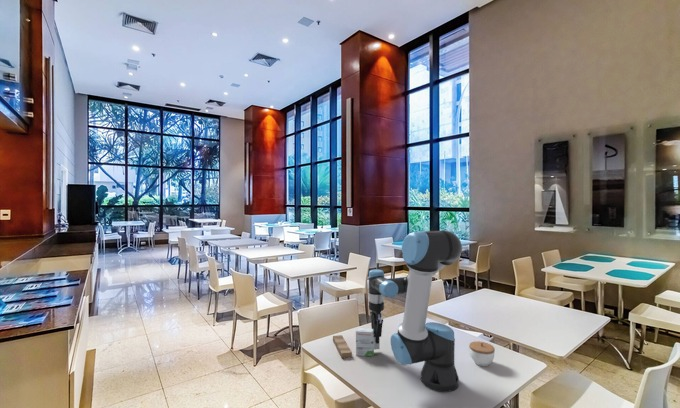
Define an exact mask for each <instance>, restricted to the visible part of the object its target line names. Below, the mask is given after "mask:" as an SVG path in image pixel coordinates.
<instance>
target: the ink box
mask: <svg viewBox="0 0 680 408" xmlns="http://www.w3.org/2000/svg"><path fill="white" fill-rule="evenodd" d="M355 353H356V354H355V355H356V356H360V357H361V356H362V357H374V355H375V350H374V331H373V329H372V328H363V327H356V330H355Z"/></svg>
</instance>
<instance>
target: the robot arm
mask: <svg viewBox="0 0 680 408" xmlns="http://www.w3.org/2000/svg"><path fill="white" fill-rule="evenodd" d="M462 251H463V245H462V242H461V240H460V238H459V236H457V235H456V234H455V233H453V232H451V231H449V230H427V231H425V230H424V231H422V230H420V231H419V230H418V231H412V232H410V233H408V234H407V235H406V236H405V237H404V239H403V240H402V245H401V253H402V255H401V256H402V259H403V261H404V262H405V265H406V267H407V268H408V269H409V272H408V274H407V275H406V276H402V277H392V278H391V277H390V278H387V277H385V273H384V270H382V269H371V270H369V271H368V278H367V279H368V309H369V315H370V323H371V324H370V325H371V328H370V329H373V331H374V351H375V350H380V349H381V348H380V345H381V344H380V338H381V337H382V334H383V333H382V332H383V324H384V319H382V311H384V310H385V298H388V299H392V298H394V297H396V296H397V295H402V294H406V296H405V305H404V310H403V311H404V312H403V316H402V317H403V318H402V322H401V323H400V324H399V325H398V327H397V333H396V332H395V333H393V334H391V336H390V346H391V350H392V354H393V356H394V358H395V359H396V361H397V362H398V363H399V364H400V365H402V366H406V365H413V364H418V363H423V362H424V363H423V366H422V369H421V372H420V381H421V383H422V385H424V386H425V387H426V388H429V389H430V390H432V391H433V390H434V391H436V392H441V393H443V392H445V393H449V392H454V391H456V390H457V389H458V388H459V386H460V378H459V375H458V372H457V369H456V368H457V367H456V366H455V345H456V344H455V341H456V338H455V331H454V330H453V329H452V327H450V326H448V325H446V324H443V323H440V322H430V321H429V322H426V321H427V318H428V317H427V316H428V309H429V303H430V302H429V301H430V296H431V289H432V284H433V277H434V276H435V275H436V274H437V273H438V272H439V271H442V270H443V268H445V267H446V266H451V265H453V264H454V263H455V262H456V261H457V260H458V259H460V256H461V254H462Z"/></svg>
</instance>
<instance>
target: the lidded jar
mask: <svg viewBox="0 0 680 408" xmlns="http://www.w3.org/2000/svg"><path fill="white" fill-rule="evenodd" d="M468 346H469V355H470V358H471V359H472V361H473V362H474V363H475V364H476V365H477V366H480V367H488V366H490V364H492V363H493V361H494V359H495V351H496V349H495V347H494V346H493V345H492V344H491V343H488V342H485V341H480V340H479V341H476V340H475V341H471V342H470V343H469V344H468Z"/></svg>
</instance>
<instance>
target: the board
mask: <svg viewBox="0 0 680 408" xmlns="http://www.w3.org/2000/svg"><path fill="white" fill-rule="evenodd" d="M332 342H333V344H334V346H335V348H336V351H337V353H338V354H339V357H340V358H341V359H343V360H344V359H350V358H352V357H353V353H352V350H351V348H350V347H349V345H348V343H347V341H346V340H345V338H344V337H343V335H342V334H341V335H339V334H338V335H333V336H332Z"/></svg>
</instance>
